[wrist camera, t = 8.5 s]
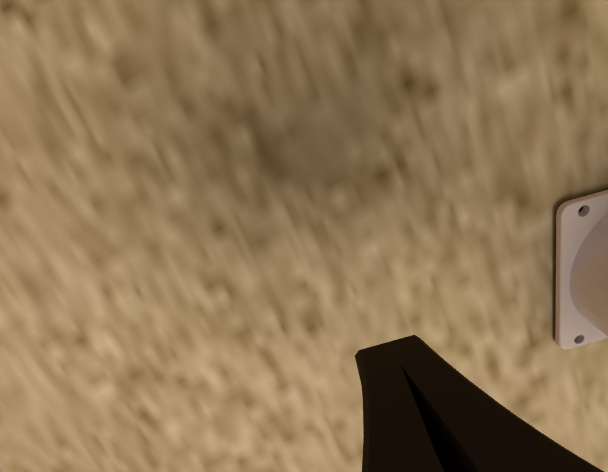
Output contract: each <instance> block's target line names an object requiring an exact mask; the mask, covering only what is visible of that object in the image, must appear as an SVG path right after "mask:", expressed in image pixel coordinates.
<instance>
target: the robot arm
mask: <svg viewBox="0 0 608 472" xmlns="http://www.w3.org/2000/svg"><path fill="white" fill-rule="evenodd" d="M582 206H583V209H582V211H581V212H579V213H578V211H579V209H580V208H581V207H582ZM604 339H608V190H605V191H601V192H598V193H594V194H591V195H587V196H583V197H580V198H576V199H572V200H569V201H566V202H564V203H563V204H561V205H560V206H559V208H558V210H557V214H556V332H555V341H556V344H557V345H558V346H559V347H560V348H562V349H564V350H568V349H572V348H576V347H579V346H583V345H586V344H590V343H593V342H597V341H600V340H604ZM355 359H356V363H357V367H358V371H359V376H360V380H361V384H362V395H363V423H364V443H363V462H362V472H604V471H602V470H600V469H599V468H597V467H595V466H594V465H592V464H590V463H589V462H587V461H585V460H584V459H582V458H580V457H578V456H577V455H575V454H574V453H572V452H570V451H569V450H567V449H566V448H564V447H562V446H561V445H559V444H558V443H556V442H555V441H553V440H552V439H550V438H548V437H547V436H545V435H544V434H542V433H541V432H539V431H538V430H536V429H535V428H534V427H532V426H531V425H529V424H528V423H526V422H525V421H523V420H522V419H520V418H519V417H517V416H516V415H515V414H513V413H512V412H510V411H509V410H508V409H506V408H505V407H503V406H502V405H501V404H499V403H498V402H497V401H495V400H494V399H493V398H491V397H490V396H489V395H487V394H486V393H485V392H484V391H482V390H481V389H480V388H478V387H477V386H476V385H474V384H473V383H472V382H470V381H469V380H468V379H467V378H465V377H464V376H463V375H462V374H460V373H459V372H458V371H457V370H456V369H454V368H453V367H452V366H451V365H450V364H448V363H447V362H446V361H445V360H444V359H443V358H441V357H440V356H439V355H438V354H437V353H436V352H435V351H433V350H432V349H431V348H430V347H429V346H428V345H427V344H426V343H425V342H423V341H422V340H421V339H420V338H419V337H417V336H415V335H412V336H408V337H405V338H401V339H398V340H394V341H391V342H387V343H383V344H380V345H376V346H373V347H369V348H365V349H362V350H359V351H358V352H357V354H356V355H355Z"/></svg>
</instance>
